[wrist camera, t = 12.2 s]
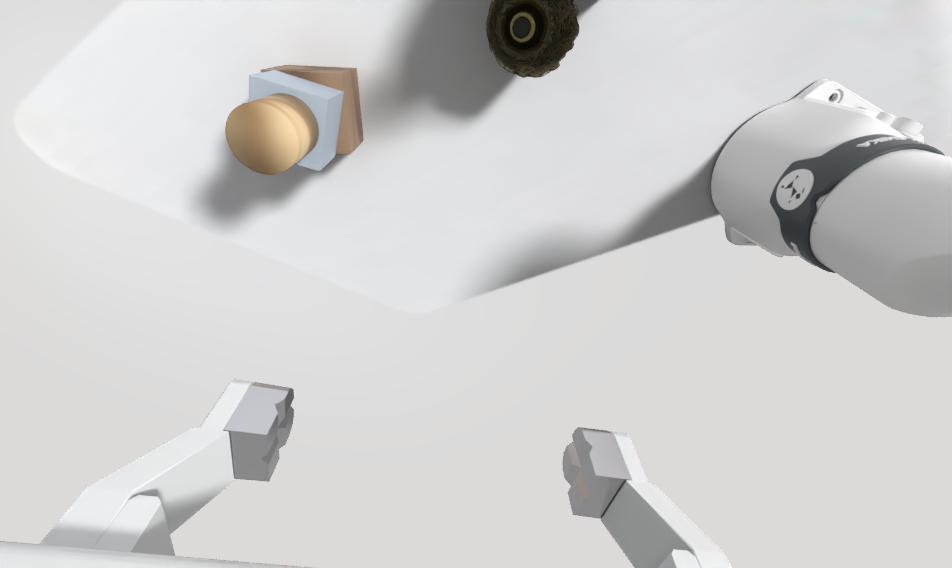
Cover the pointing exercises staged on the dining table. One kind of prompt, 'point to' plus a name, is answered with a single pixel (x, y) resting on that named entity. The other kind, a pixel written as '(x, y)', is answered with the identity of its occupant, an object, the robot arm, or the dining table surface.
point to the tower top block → (317, 98)
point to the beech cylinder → (272, 133)
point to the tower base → (350, 111)
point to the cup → (532, 34)
